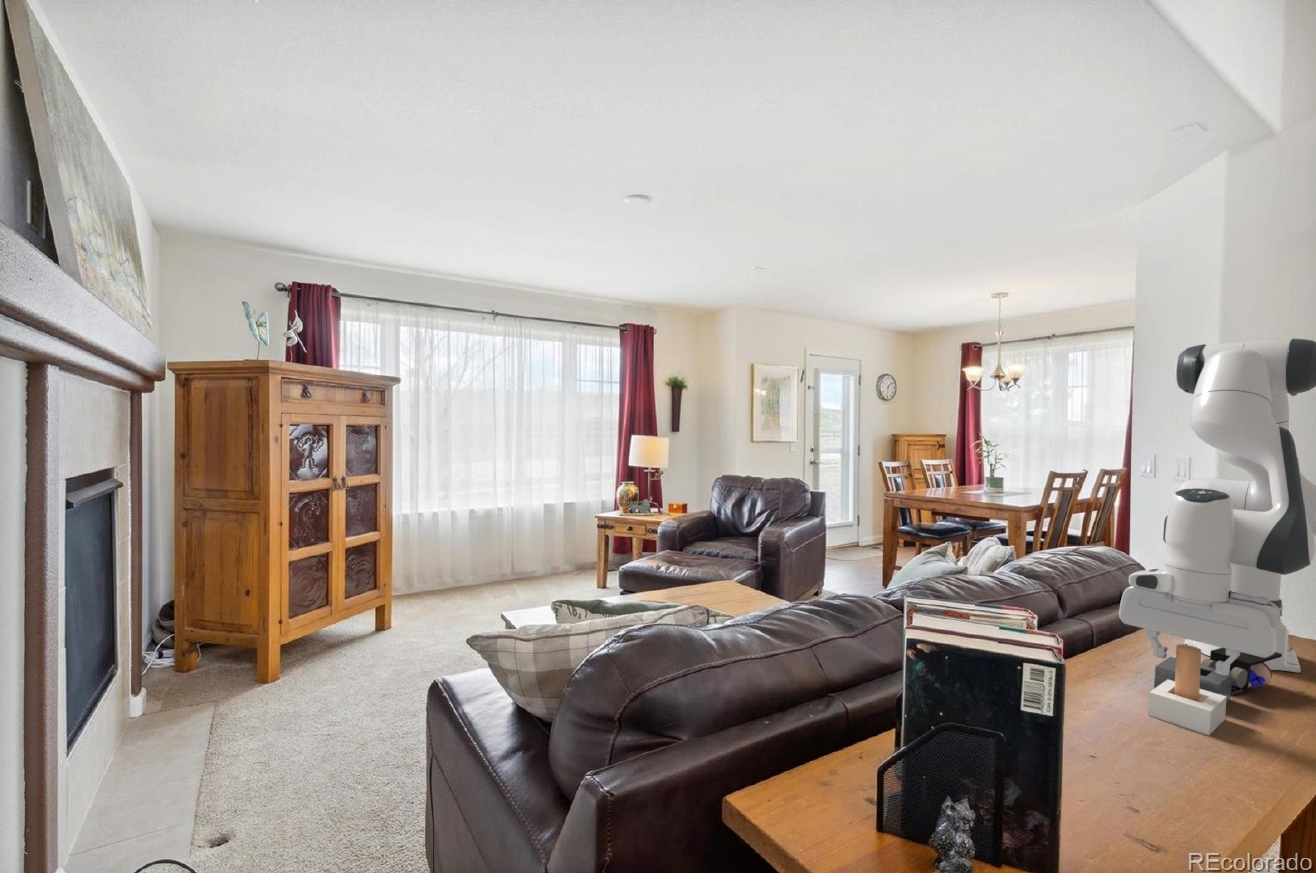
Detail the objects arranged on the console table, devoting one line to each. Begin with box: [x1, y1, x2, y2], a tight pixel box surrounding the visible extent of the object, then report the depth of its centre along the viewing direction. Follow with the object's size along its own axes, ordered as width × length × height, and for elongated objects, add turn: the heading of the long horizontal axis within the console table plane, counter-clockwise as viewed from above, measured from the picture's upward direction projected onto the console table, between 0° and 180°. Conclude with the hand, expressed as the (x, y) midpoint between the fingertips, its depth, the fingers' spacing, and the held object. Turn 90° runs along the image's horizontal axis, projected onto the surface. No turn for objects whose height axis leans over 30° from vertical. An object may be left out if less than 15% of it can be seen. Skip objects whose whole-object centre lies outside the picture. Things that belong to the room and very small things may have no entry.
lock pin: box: [1174, 643, 1202, 702], centre depth 106 cm, size 3×3×12 cm
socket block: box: [1147, 680, 1227, 736], centre depth 106 cm, size 10×8×4 cm
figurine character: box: [1201, 648, 1282, 695], centre depth 119 cm, size 7×8×15 cm
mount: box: [1153, 656, 1232, 705], centre depth 114 cm, size 9×9×5 cm
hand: (1190, 665), depth 105 cm, fingers open, 7 cm apart
